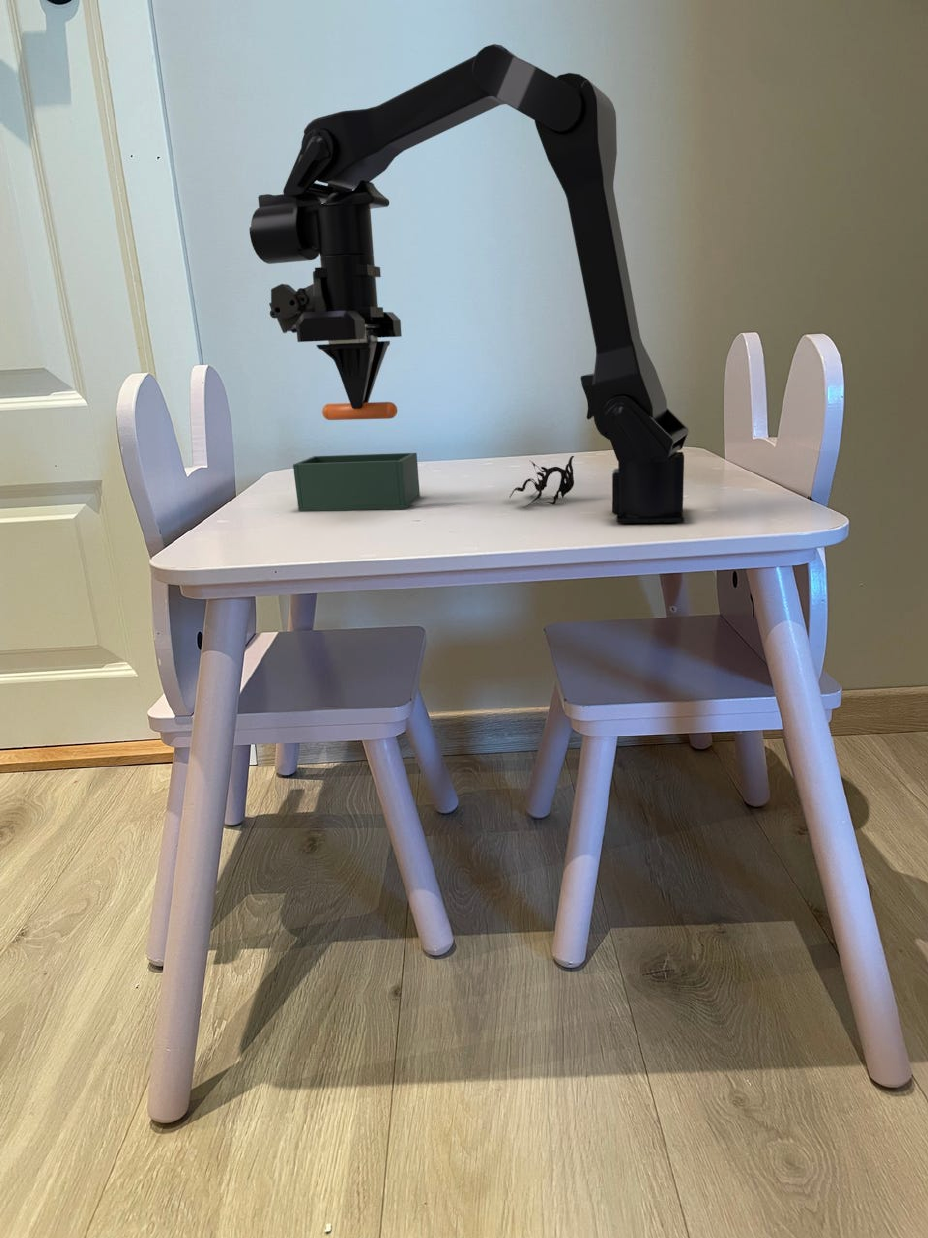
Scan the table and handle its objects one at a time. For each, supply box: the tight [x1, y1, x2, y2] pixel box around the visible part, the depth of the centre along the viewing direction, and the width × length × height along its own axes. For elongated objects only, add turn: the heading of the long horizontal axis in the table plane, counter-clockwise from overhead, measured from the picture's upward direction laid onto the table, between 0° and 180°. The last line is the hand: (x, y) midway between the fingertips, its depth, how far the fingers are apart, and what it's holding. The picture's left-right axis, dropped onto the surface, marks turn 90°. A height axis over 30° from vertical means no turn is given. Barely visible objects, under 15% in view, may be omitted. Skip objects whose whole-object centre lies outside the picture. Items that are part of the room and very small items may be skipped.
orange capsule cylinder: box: [321, 401, 398, 421], centre depth 93 cm, size 9×2×2 cm, turn 79°
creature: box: [508, 455, 575, 509], centre depth 94 cm, size 8×5×8 cm
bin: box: [292, 452, 421, 512], centre depth 99 cm, size 13×7×6 cm, turn 79°
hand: (359, 407), depth 93 cm, fingers closed on orange capsule cylinder, 1 cm apart
